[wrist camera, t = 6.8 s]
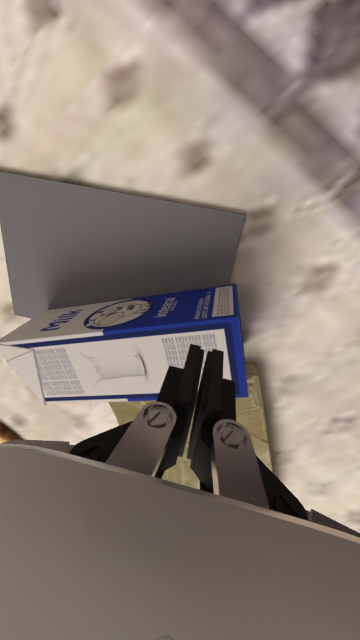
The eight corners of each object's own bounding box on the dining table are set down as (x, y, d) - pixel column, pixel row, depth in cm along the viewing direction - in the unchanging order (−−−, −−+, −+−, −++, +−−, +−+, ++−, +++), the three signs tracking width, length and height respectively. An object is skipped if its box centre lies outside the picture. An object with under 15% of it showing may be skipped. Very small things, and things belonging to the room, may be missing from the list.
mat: (245, 214, 20) (245, 214, 20) (209, 357, 26) (208, 359, 26) (-5, 170, 22) (-8, 170, 22) (17, 313, 28) (14, 314, 28)
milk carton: (239, 317, 16) (-11, 344, 21) (248, 399, 19) (26, 406, 23) (236, 283, 22) (45, 309, 27) (243, 348, 25) (69, 361, 30)
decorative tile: (257, 359, 26) (261, 381, 23) (274, 485, 34) (279, 515, 30) (98, 374, 31) (83, 394, 28) (145, 482, 38) (137, 507, 35)
